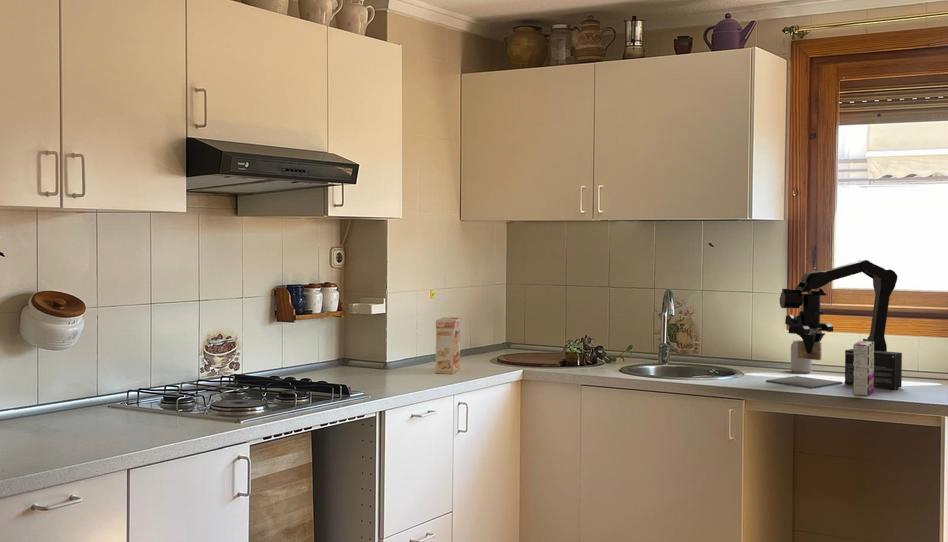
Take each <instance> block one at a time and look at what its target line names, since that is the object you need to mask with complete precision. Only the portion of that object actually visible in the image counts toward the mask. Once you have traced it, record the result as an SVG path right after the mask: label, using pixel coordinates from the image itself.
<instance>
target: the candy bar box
mask: <svg viewBox="0 0 948 542" xmlns="http://www.w3.org/2000/svg"><path fill="white" fill-rule="evenodd" d="M853 349H854V354H853V385H852V390H853V391H852V395H853V394H854V395H853V396H861V395H867V396H866V397H870V395H871V394H873V392H875V387H874V342H868V341H863V340H861V341H860V340H859V341H858V342H855V343H854V344H853Z"/></svg>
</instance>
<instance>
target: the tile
mask: <svg viewBox="0 0 948 542" xmlns="http://www.w3.org/2000/svg"><path fill="white" fill-rule="evenodd" d="M822 347H823V345H822V342H821V341H820V342H814V344H813V348H812V351H811V353H810V354H808V353H807V351H806V348H805V345H804V342H803V341H798V358H803V359H812V361H822Z"/></svg>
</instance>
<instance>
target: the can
mask: <svg viewBox="0 0 948 542" xmlns="http://www.w3.org/2000/svg"><path fill="white" fill-rule="evenodd" d="M798 341H803V339H794V340H792V343H790V370H791V371H792V373H795V374H810V373H811V372H812V371H813V369H812V367H813V360H812V359H803V358H798Z"/></svg>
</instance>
